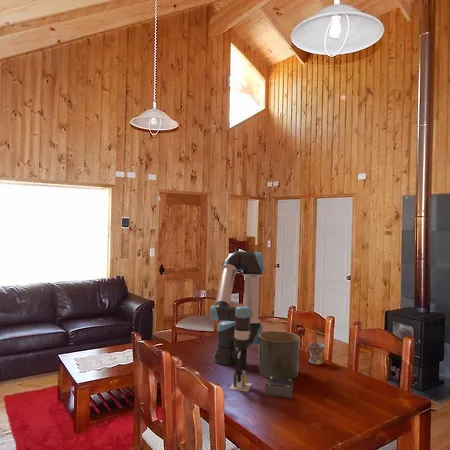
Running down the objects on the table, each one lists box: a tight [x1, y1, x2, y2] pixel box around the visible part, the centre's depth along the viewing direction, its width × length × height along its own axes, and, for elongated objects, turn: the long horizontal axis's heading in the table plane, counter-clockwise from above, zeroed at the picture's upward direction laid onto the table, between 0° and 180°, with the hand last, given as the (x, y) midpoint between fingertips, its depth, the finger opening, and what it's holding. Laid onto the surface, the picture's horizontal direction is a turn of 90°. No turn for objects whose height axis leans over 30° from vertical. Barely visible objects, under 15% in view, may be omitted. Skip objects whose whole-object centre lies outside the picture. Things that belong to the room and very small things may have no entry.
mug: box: [304, 342, 325, 366], centre depth 232 cm, size 12×9×11 cm
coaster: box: [229, 382, 252, 393], centre depth 195 cm, size 9×9×1 cm
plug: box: [233, 371, 250, 387], centre depth 194 cm, size 7×4×6 cm, turn 78°
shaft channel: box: [264, 377, 294, 399], centre depth 189 cm, size 12×10×5 cm
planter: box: [258, 330, 301, 380], centre depth 215 cm, size 22×22×20 cm
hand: (240, 385), depth 194 cm, fingers open, 6 cm apart
